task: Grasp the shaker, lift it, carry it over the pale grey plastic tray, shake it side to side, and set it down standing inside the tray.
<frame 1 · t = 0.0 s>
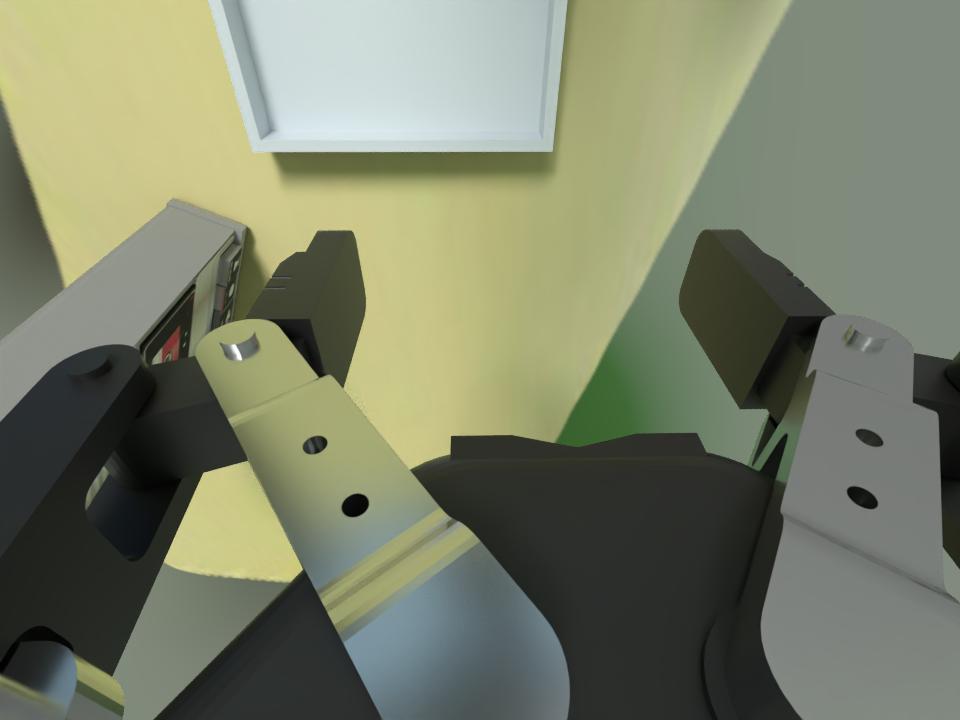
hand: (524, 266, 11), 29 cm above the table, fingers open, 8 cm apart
tray: (396, 13, 32), on the table
cassette tape recorder: (207, 275, 44), on the table
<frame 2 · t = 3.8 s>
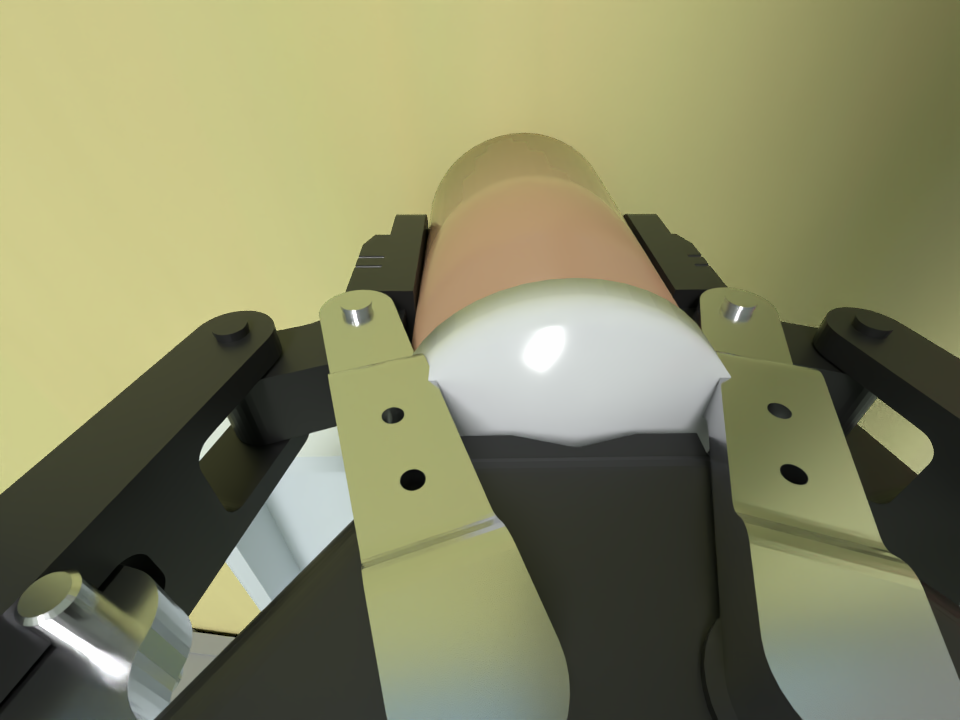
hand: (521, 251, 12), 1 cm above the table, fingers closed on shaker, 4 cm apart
tray: (500, 511, 22), on the table
cassette tape recorder: (220, 662, 35), on the table
shaker: (518, 227, 13), on the table, touching gripper
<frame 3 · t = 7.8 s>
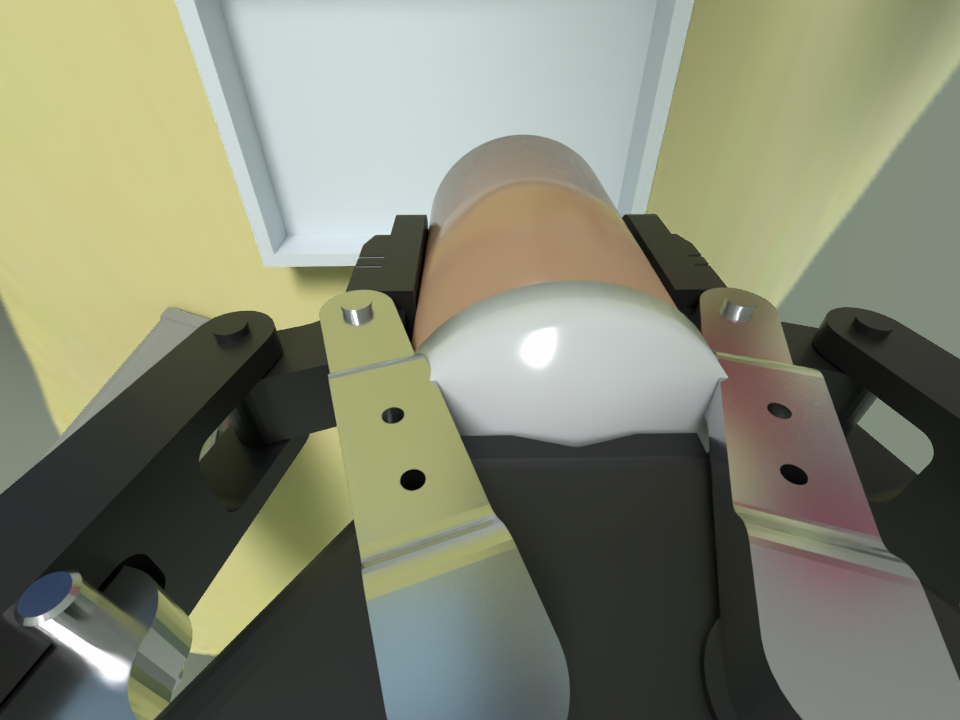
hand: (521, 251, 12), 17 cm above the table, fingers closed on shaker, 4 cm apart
tray: (445, 102, 25), on the table
cassette tape recorder: (210, 381, 38), on the table
shaker: (517, 228, 13), point 16 cm above the table, touching gripper
when the fingers open (3 cm above the table, at t = 12.0 s): shaker stays where it is, resting on tray.
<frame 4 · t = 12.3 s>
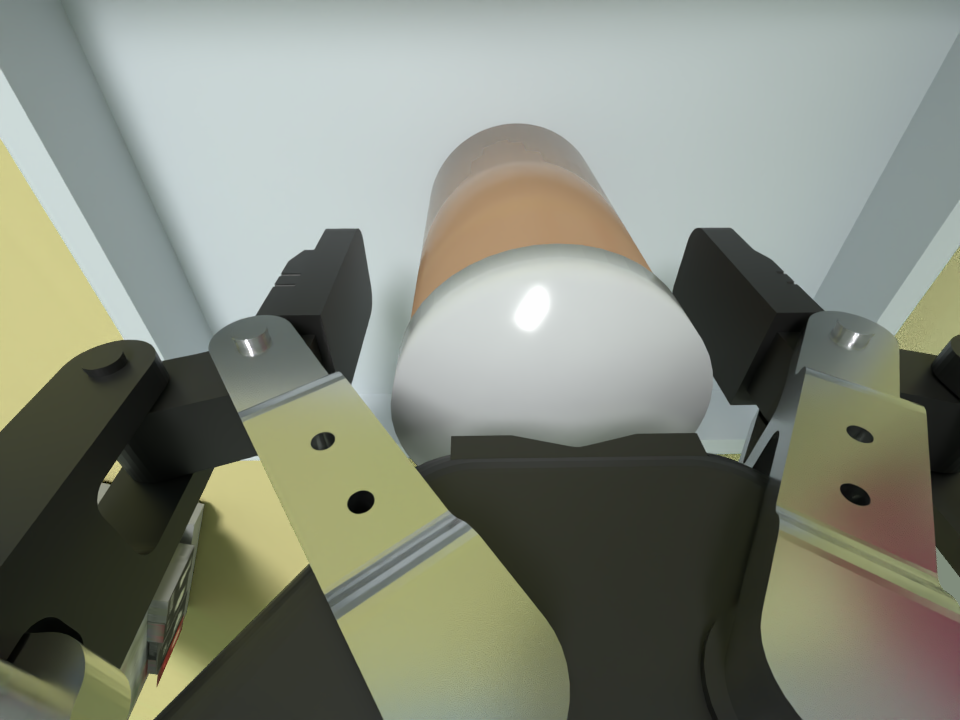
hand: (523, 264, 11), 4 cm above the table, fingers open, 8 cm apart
tray: (513, 206, 14), on the table
cassette tape recorder: (144, 548, 27), on the table
shaker: (512, 213, 14), resting on tray
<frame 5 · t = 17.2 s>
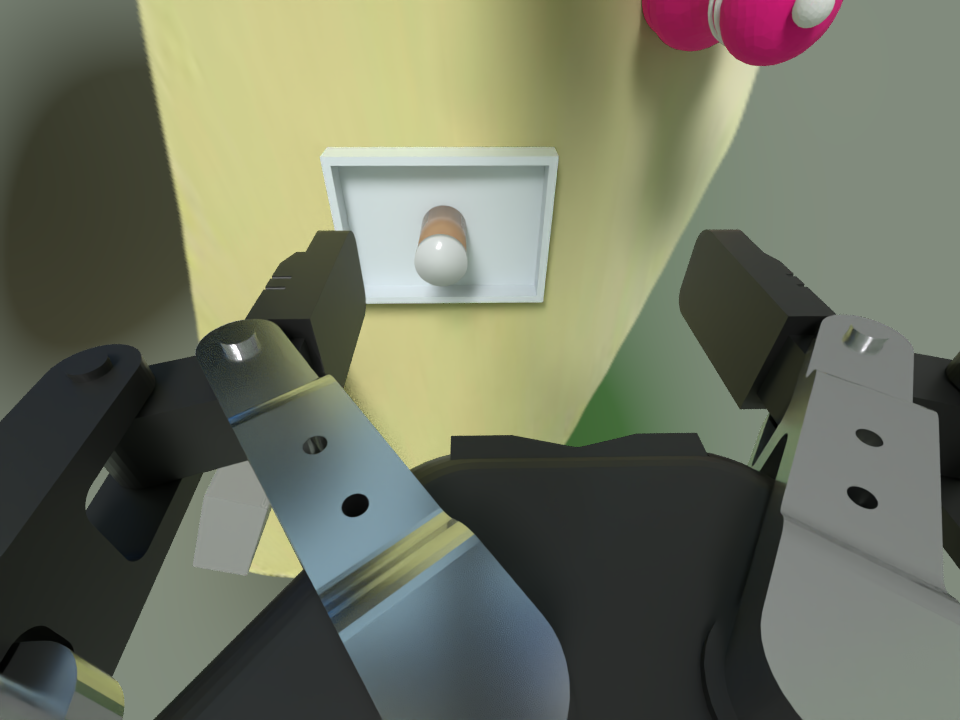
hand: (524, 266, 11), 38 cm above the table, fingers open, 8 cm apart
tray: (444, 225, 51), on the table
cassette tape recorder: (303, 365, 63), on the table
shaker: (444, 227, 50), resting on tray
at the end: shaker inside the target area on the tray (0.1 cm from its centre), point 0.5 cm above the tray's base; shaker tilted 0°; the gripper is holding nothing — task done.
